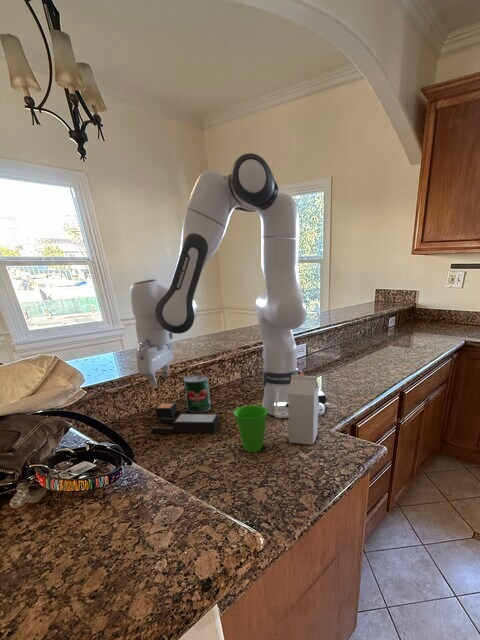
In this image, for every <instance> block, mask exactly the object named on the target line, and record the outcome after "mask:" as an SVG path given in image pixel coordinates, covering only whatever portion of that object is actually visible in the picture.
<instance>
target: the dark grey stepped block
mask: <svg viewBox="0 0 480 640" xmlns="http://www.w3.org/2000/svg"><path fill="white" fill-rule="evenodd" d="M159 419H160V424H172V425H173V426H153V427H151V432H152V434H174V433H207V434H208V433H213V434H214V433H215V432H216V431H217V428H218V427H219V425H220V415H219V413H180V414H179V415H178V416H177V417H172V418H159Z"/></svg>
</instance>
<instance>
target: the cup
mask: <svg viewBox="0 0 480 640" xmlns="http://www.w3.org/2000/svg"><path fill="white" fill-rule="evenodd" d="M267 413H268V410H267V409H266V408H265V407H262V405H257V404H255V405H253V404H251V405H250V404H249V405H243V406H240V407H237V408H236V409H234V410H233V416H235V420H236V425H237V428H238V432H239V435H240V440H241V444H242V447H243V449H244V451H245V452H248V453H256V452H259V451H261V450H262V448H263V445H264V438H265V429H266V421H267V415H268V414H267Z"/></svg>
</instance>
